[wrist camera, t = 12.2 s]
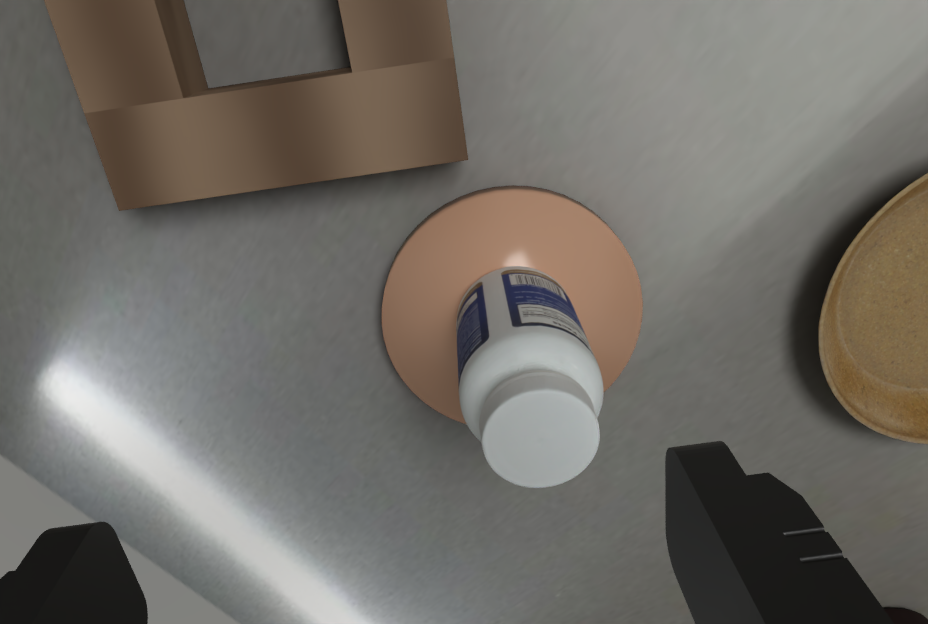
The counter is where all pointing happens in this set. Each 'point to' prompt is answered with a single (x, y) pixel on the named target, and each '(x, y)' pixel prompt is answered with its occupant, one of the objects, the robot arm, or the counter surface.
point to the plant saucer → (882, 320)
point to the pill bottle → (527, 377)
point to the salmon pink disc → (494, 247)
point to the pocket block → (258, 102)
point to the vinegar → (905, 616)
